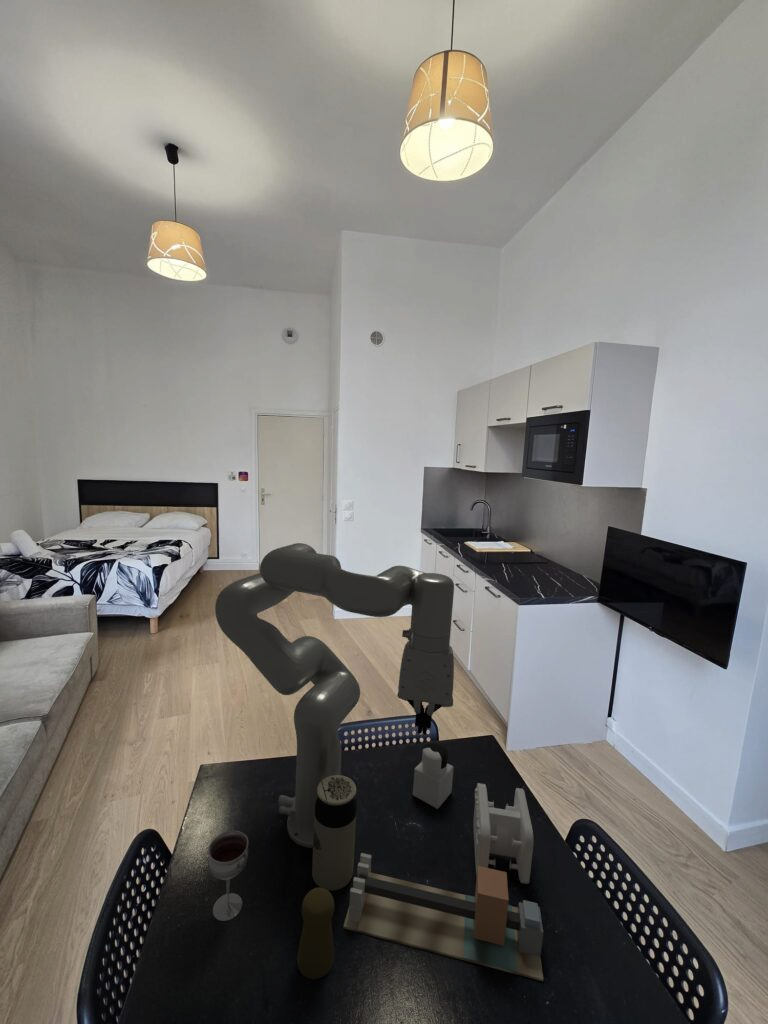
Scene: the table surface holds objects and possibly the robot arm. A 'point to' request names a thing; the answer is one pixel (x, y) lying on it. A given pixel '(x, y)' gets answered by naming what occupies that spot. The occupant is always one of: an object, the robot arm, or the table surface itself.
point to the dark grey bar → (429, 900)
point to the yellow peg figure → (316, 934)
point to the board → (441, 931)
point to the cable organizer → (503, 832)
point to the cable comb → (359, 888)
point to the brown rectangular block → (490, 905)
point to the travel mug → (334, 832)
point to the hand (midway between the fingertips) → (422, 729)
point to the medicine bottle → (433, 776)
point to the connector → (530, 928)
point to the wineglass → (228, 869)
